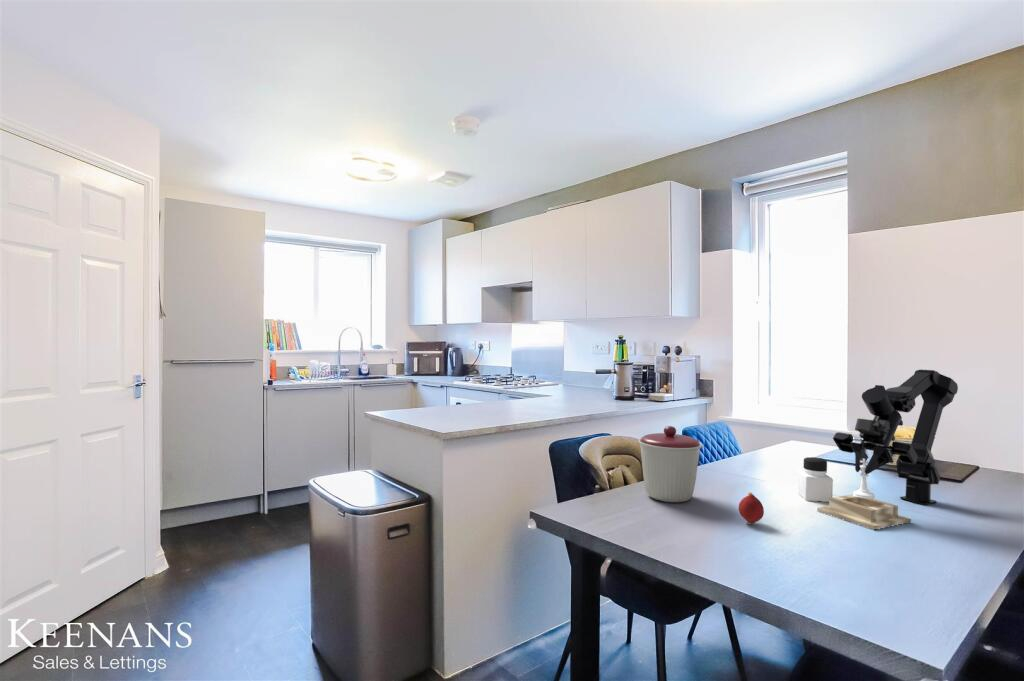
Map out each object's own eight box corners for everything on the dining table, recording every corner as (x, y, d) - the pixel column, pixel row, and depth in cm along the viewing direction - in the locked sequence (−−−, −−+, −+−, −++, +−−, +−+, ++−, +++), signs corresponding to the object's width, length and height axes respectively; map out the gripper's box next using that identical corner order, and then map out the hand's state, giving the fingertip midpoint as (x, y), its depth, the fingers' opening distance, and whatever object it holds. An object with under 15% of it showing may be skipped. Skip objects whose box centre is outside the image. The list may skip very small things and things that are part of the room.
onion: (761, 521, 133) (762, 490, 133) (765, 529, 127) (765, 497, 127) (737, 518, 135) (737, 488, 135) (739, 526, 129) (739, 494, 129)
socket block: (853, 505, 148) (853, 491, 148) (910, 522, 134) (911, 507, 134) (817, 511, 142) (817, 496, 142) (874, 530, 128) (874, 514, 128)
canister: (680, 512, 139) (681, 434, 139) (624, 495, 153) (626, 425, 153) (713, 499, 151) (714, 427, 151) (659, 485, 165) (660, 419, 165)
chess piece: (851, 492, 141) (851, 455, 141) (872, 494, 139) (873, 457, 139) (854, 497, 137) (854, 459, 137) (876, 499, 135) (877, 461, 135)
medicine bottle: (832, 502, 150) (833, 461, 149) (805, 501, 151) (806, 460, 151) (823, 495, 156) (823, 456, 156) (797, 493, 158) (798, 454, 158)
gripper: (836, 403, 148) (813, 446, 142) (912, 412, 131) (890, 460, 126) (851, 428, 152) (829, 471, 146) (927, 440, 135) (905, 488, 130)
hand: (861, 472), depth 137 cm, fingers closed on chess piece
